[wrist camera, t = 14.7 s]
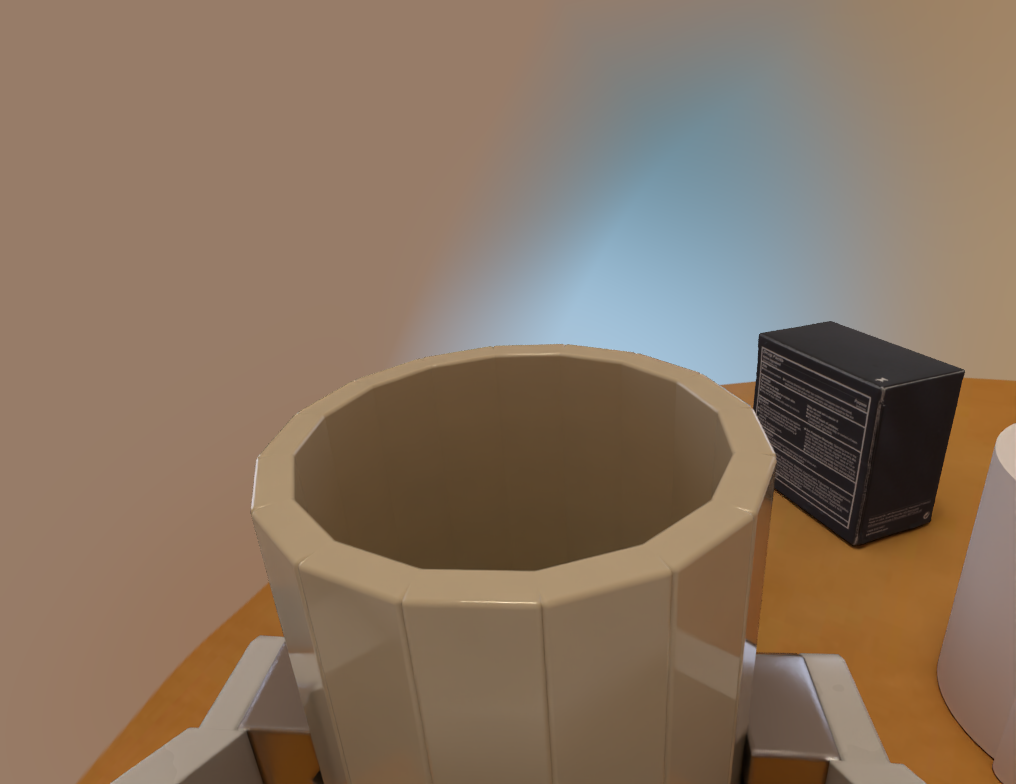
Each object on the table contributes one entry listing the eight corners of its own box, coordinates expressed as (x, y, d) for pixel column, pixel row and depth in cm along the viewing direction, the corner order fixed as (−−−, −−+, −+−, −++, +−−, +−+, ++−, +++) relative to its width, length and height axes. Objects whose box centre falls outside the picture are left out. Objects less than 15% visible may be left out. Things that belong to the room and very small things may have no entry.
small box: (939, 523, 42) (975, 367, 38) (854, 550, 40) (882, 390, 36) (815, 448, 51) (833, 315, 47) (742, 467, 49) (754, 331, 45)
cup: (350, 1167, 9) (131, 595, 5) (430, 802, 14) (350, 348, 10) (744, 1221, 9) (857, 613, 4) (689, 817, 13) (720, 338, 9)
